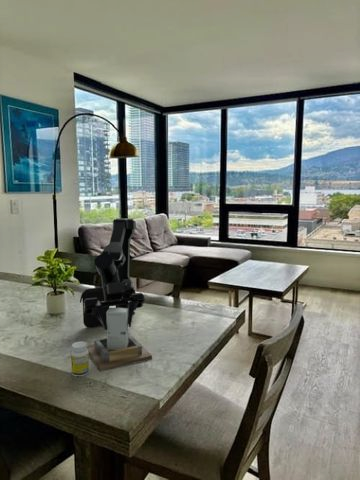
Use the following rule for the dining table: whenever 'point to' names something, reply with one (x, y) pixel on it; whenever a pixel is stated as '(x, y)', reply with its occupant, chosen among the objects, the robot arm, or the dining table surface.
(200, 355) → the dining table surface
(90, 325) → the carrying case or bag
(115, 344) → the skincare box
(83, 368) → the supplement bottle
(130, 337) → the sleeve holder
